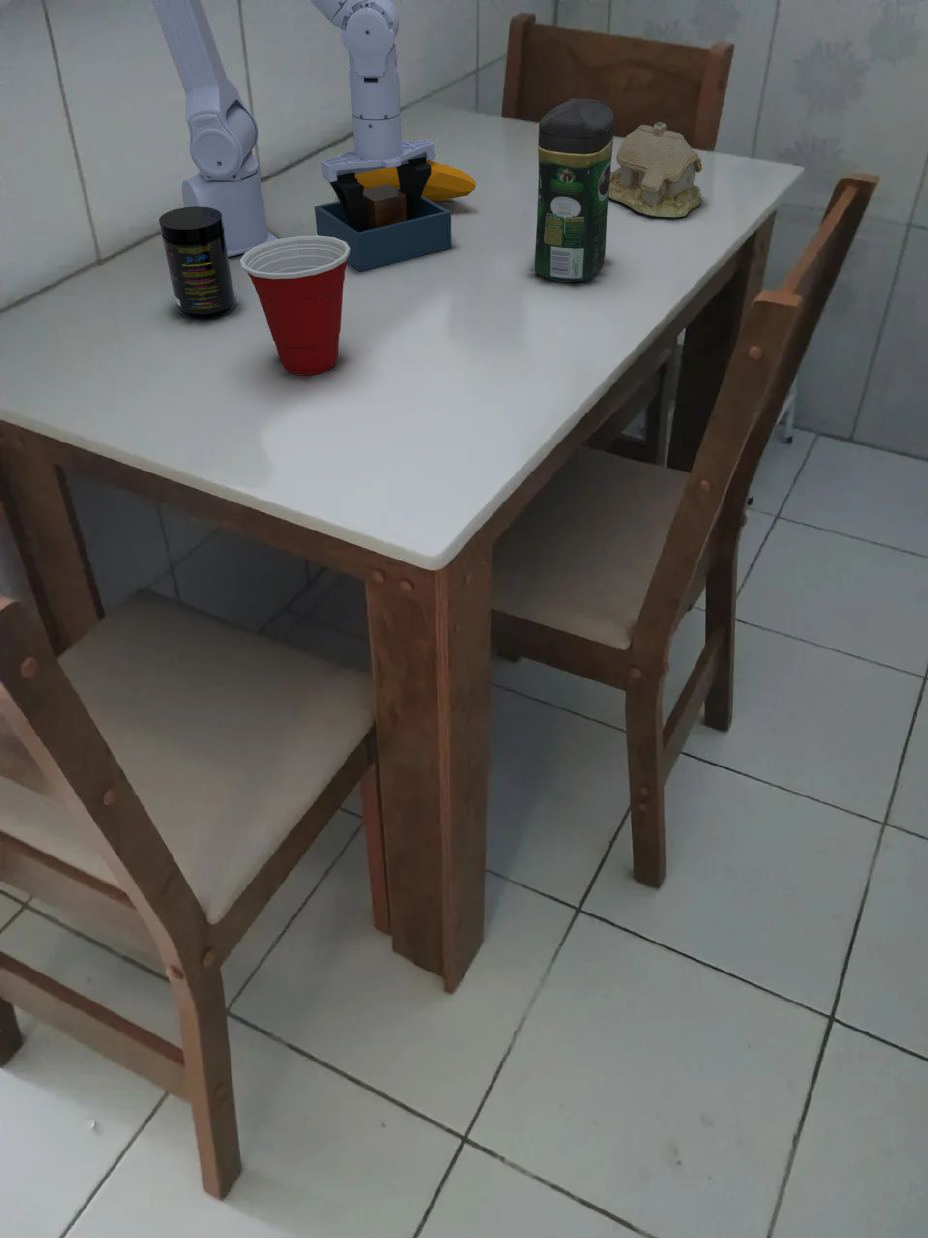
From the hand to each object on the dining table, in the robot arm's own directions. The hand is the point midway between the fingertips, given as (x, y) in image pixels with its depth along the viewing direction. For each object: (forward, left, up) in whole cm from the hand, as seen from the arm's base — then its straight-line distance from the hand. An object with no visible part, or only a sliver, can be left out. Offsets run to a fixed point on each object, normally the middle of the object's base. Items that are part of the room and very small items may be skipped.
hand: (383, 228), depth 133 cm
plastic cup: (-22, -23, -2) cm, 32 cm away
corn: (+10, +11, -2) cm, 15 cm away
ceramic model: (+38, -7, -2) cm, 39 cm away
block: (0, 0, -2) cm, 2 cm away
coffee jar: (+15, -19, -2) cm, 24 cm away
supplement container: (-26, -5, -2) cm, 27 cm away
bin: (0, 0, -2) cm, 2 cm away
